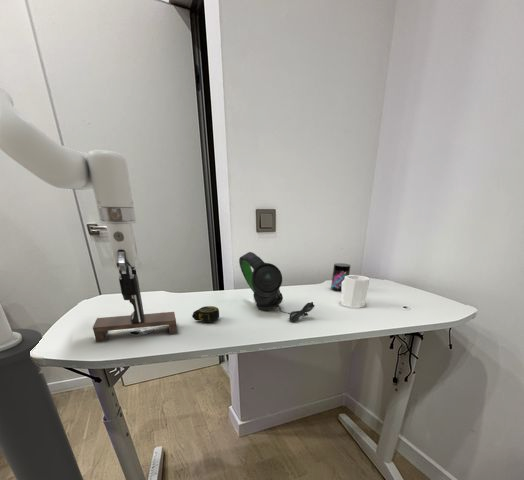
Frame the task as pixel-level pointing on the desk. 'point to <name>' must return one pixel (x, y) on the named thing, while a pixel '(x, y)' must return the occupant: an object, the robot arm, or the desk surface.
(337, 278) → the supplement container
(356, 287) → the mug
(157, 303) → the desk surface
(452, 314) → the desk surface
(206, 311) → the tape measure
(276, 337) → the desk surface
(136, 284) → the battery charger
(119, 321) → the shelf
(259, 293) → the headset
